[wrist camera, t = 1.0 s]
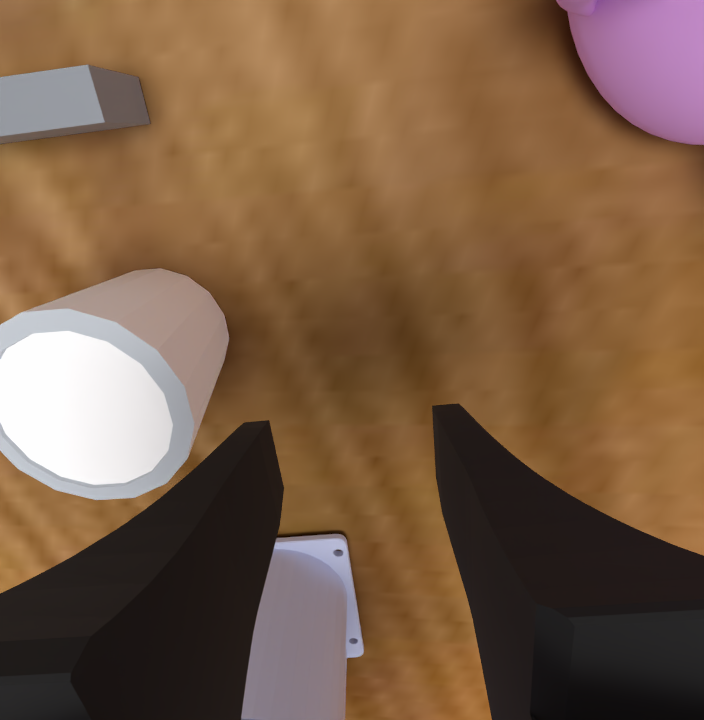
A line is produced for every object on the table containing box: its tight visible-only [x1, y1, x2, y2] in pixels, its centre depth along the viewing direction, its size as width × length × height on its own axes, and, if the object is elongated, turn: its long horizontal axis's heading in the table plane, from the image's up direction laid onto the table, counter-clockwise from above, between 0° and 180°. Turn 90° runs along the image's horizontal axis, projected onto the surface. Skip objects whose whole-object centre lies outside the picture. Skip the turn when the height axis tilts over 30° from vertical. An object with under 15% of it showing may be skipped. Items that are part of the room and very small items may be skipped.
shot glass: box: [0, 268, 229, 500], centre depth 18 cm, size 7×7×7 cm
